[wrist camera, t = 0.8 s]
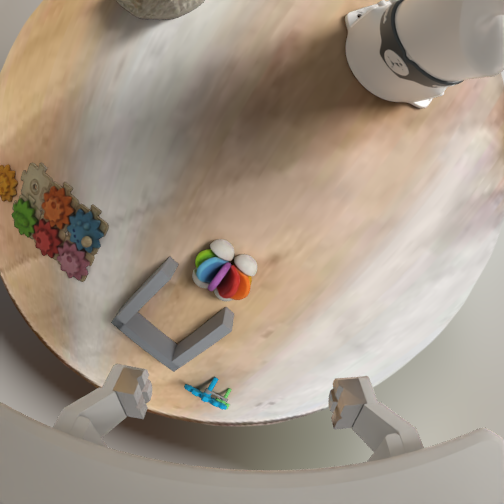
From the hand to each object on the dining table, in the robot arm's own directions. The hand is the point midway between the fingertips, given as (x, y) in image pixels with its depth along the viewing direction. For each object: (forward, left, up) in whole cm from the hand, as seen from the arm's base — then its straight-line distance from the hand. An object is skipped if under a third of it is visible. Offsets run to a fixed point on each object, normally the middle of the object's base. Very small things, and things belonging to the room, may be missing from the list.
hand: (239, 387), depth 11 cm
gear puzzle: (+29, -28, -35) cm, 53 cm away
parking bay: (+24, +5, -34) cm, 42 cm away
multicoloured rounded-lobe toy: (+11, +5, -34) cm, 36 cm away
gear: (+35, +23, -34) cm, 54 cm away
